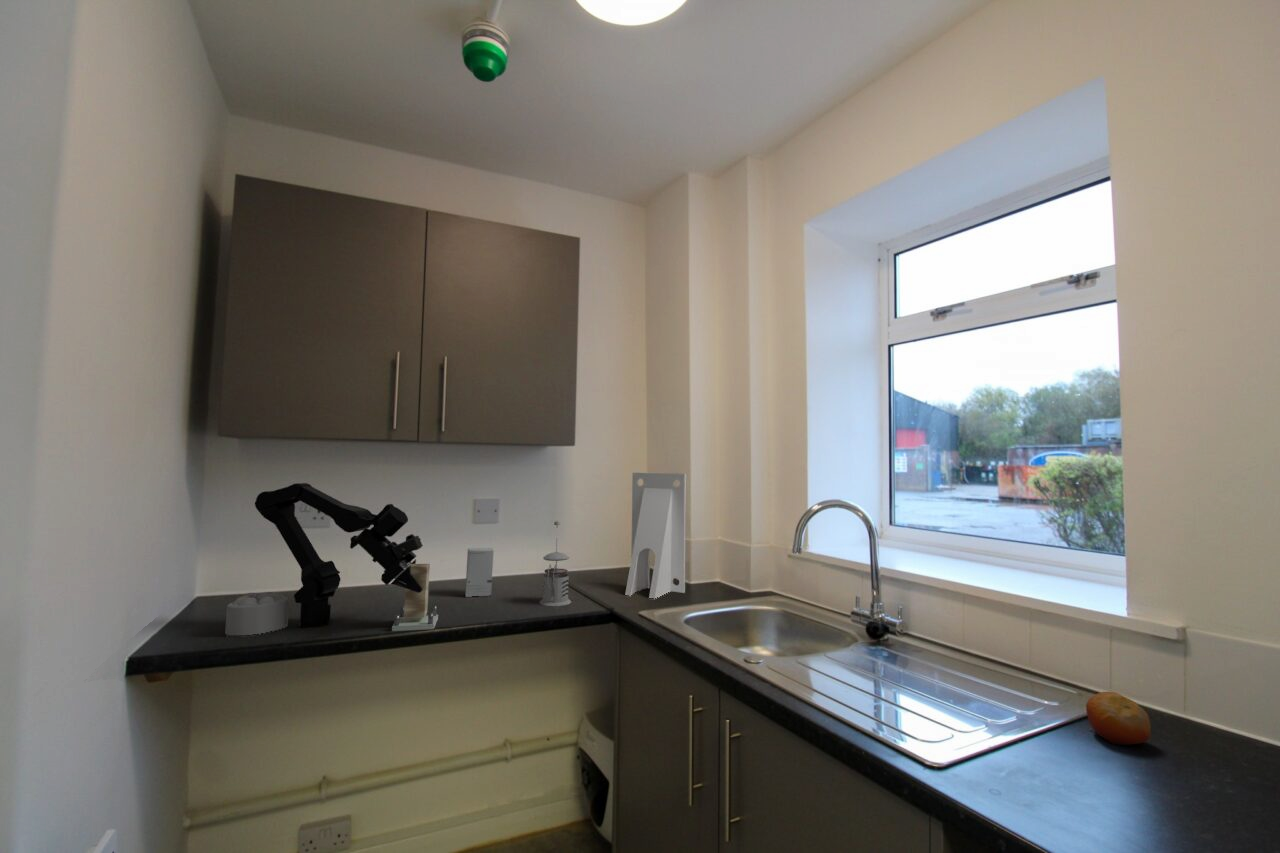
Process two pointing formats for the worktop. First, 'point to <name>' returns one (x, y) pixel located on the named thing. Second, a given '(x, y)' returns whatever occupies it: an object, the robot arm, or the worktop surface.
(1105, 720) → the fruit
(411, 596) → the birch post
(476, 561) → the skincare box
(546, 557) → the french press
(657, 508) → the grey wedge bracket
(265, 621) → the lumpy-topped squat cylinder
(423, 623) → the peg board
